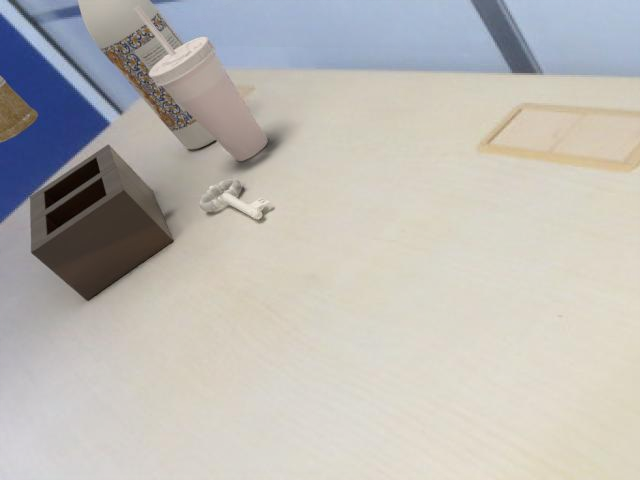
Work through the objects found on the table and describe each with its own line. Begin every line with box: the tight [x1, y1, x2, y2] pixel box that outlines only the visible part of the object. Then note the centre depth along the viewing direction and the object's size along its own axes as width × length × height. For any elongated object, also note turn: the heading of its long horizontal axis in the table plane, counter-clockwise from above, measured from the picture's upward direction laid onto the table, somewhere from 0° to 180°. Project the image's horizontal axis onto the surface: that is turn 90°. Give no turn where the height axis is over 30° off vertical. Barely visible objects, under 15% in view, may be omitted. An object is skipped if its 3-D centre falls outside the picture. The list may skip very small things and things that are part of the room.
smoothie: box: [134, 6, 269, 162], centre depth 69 cm, size 6×6×14 cm
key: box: [198, 177, 271, 220], centre depth 66 cm, size 12×1×4 cm
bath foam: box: [77, 0, 217, 150], centre depth 76 cm, size 7×7×20 cm
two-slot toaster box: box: [29, 144, 174, 301], centre depth 70 cm, size 17×9×6 cm, turn 34°
